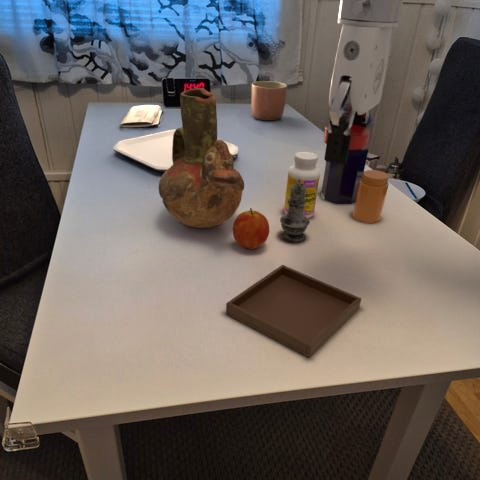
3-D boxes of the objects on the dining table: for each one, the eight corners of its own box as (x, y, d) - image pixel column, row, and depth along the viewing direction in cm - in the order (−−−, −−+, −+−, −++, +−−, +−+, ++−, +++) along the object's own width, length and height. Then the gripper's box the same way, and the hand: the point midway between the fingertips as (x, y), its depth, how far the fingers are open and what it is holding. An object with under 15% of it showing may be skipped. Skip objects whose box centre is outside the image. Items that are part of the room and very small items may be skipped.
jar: (384, 216, 99) (395, 174, 93) (372, 225, 95) (383, 182, 89) (360, 208, 102) (369, 167, 96) (347, 217, 98) (356, 174, 92)
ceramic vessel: (192, 262, 81) (187, 115, 65) (143, 207, 98) (130, 81, 83) (271, 242, 88) (284, 105, 72) (212, 194, 105) (212, 76, 90)
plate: (184, 133, 143) (184, 126, 141) (248, 157, 127) (249, 149, 126) (104, 152, 126) (103, 144, 125) (167, 181, 111) (167, 173, 109)
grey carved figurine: (309, 232, 92) (317, 175, 84) (304, 245, 87) (312, 186, 80) (281, 228, 93) (287, 171, 85) (275, 240, 88) (281, 181, 81)
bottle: (360, 192, 110) (390, 51, 91) (356, 206, 103) (388, 57, 84) (323, 186, 112) (345, 47, 93) (317, 200, 105) (339, 53, 86)
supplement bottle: (297, 223, 95) (305, 162, 87) (277, 211, 99) (283, 153, 91) (320, 215, 98) (329, 157, 90) (299, 205, 102) (307, 148, 94)
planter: (267, 124, 155) (269, 89, 148) (243, 116, 162) (244, 83, 155) (291, 118, 162) (294, 85, 155) (267, 111, 169) (269, 79, 162)
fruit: (253, 234, 90) (255, 196, 85) (275, 248, 86) (278, 210, 81) (225, 243, 87) (225, 205, 82) (246, 258, 82) (248, 219, 78)
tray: (359, 308, 71) (361, 298, 70) (309, 357, 62) (311, 346, 61) (281, 274, 79) (282, 264, 77) (225, 314, 69) (226, 303, 68)
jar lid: (342, 133, 69) (344, 121, 68) (376, 144, 66) (379, 131, 64) (314, 140, 66) (316, 127, 65) (349, 152, 62) (352, 138, 61)
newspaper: (158, 128, 146) (156, 120, 145) (121, 131, 147) (119, 123, 145) (166, 110, 164) (164, 103, 162) (133, 113, 164) (131, 105, 163)
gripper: (380, 16, 48) (348, 178, 59) (415, 10, 60) (383, 146, 71) (315, 11, 51) (297, 167, 62) (361, 6, 63) (339, 137, 74)
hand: (343, 154), depth 67 cm, fingers closed on jar lid, 6 cm apart
